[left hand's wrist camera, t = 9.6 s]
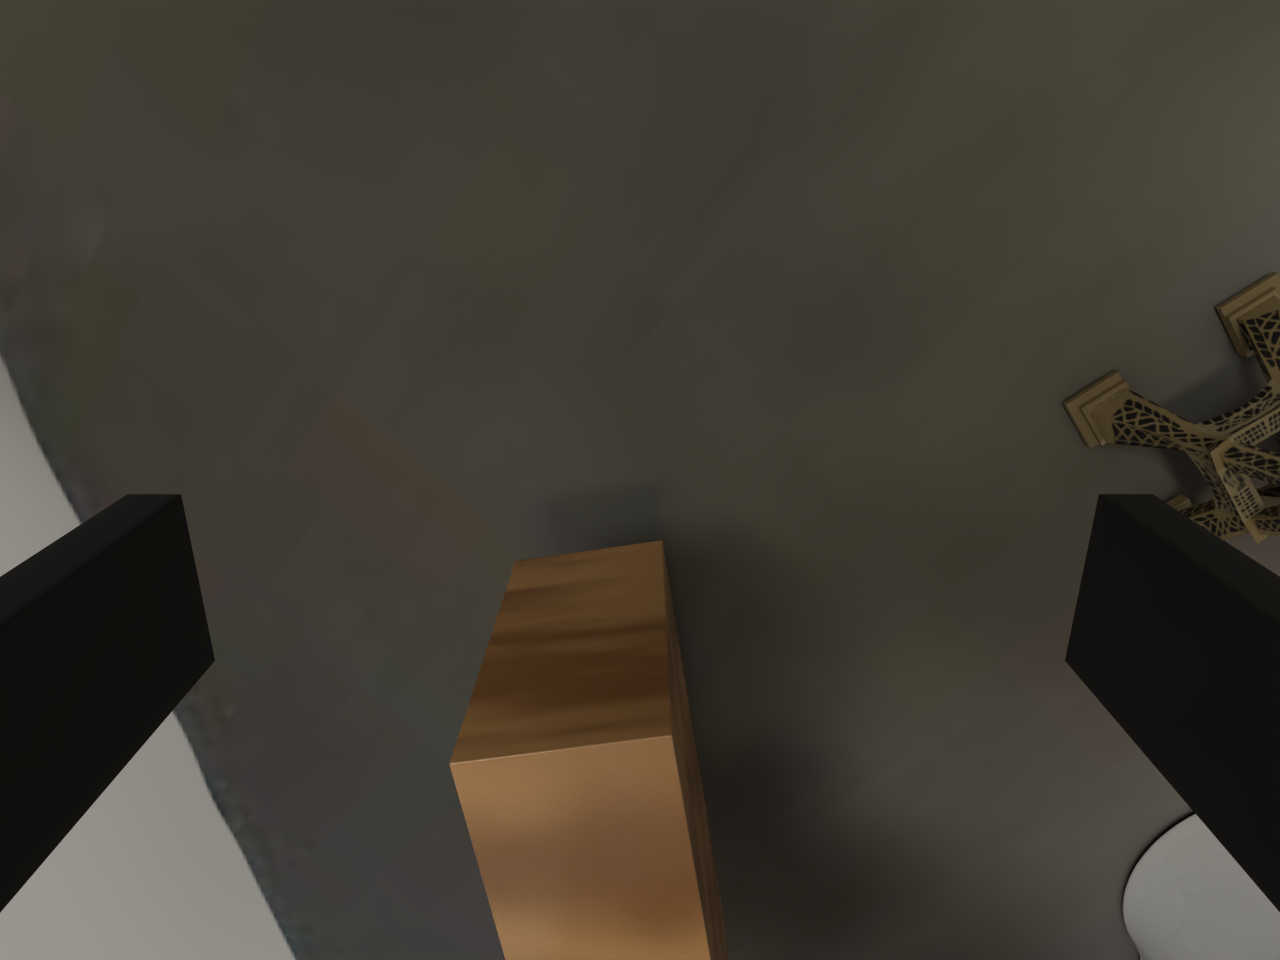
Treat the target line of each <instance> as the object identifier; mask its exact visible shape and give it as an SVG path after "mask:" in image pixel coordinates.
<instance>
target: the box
mask: <svg viewBox="0 0 1280 960" xmlns="http://www.w3.org/2000/svg"><path fill="white" fill-rule="evenodd" d="M450 768H451V771H452V775H453V778H454V782H455V785H456V789H457V792H458V796H459V799H460V803H461V806H462V810H463V813H464V817H465V820H466V824H467V827H468V831H469V834H470V838H471V841H472V845H473V848H474V851H475V855H476V858H477V862H478V865H479V869H480V872H481V876H482V879H483V883H484V886H485V890H486V893H487V897H488V900H489V904H490V907H491V911H492V914H493V918H494V921H495V925H496V928H497V932H498V935H499V939H500V942H501V946H502V949H503V953H504V956H505V960H729V959H728V950H727V941H726V931H725V922H724V916H723V910H722V903H721V897H720V891H719V885H718V879H717V873H716V866H715V860H714V854H713V848H712V842H711V836H710V830H709V823H708V817H707V811H706V805H705V799H704V793H703V787H702V780H701V774H700V768H699V762H698V756H697V750H696V744H695V737H694V731H693V725H692V719H691V713H690V707H689V701H688V694H687V688H686V682H685V676H684V670H683V664H682V658H681V651H680V645H679V639H678V633H677V627H676V621H675V615H674V608H673V602H672V596H671V590H670V584H669V578H668V572H667V565H666V559H665V553H664V547H663V541H662V540H660V541H653V542H646V543H639V544H632V545H625V546H618V547H611V548H604V549H597V550H590V551H583V552H576V553H569V554H562V555H554V556H547V557H540V558H533V559H526V560H519V561H515V564H514V567H513V570H512V573H511V576H510V579H509V582H508V585H507V589H506V592H505V595H504V598H503V601H502V604H501V607H500V610H499V613H498V616H497V619H496V622H495V625H494V628H493V631H492V635H491V638H490V641H489V644H488V647H487V650H486V653H485V656H484V659H483V662H482V665H481V668H480V671H479V674H478V678H477V681H476V684H475V687H474V690H473V693H472V696H471V699H470V702H469V705H468V708H467V711H466V714H465V717H464V721H463V724H462V727H461V730H460V733H459V736H458V739H457V742H456V745H455V748H454V751H453V754H452V757H451V760H450Z"/></svg>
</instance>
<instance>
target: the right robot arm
mask: <svg viewBox="0 0 1280 960" xmlns="http://www.w3.org/2000/svg"><path fill="white" fill-rule="evenodd" d="M1123 918H1124V922H1125V926H1126V929H1127V931H1128V933H1129V936H1130V937H1131V939H1132V941H1133V942H1134V944H1135V946H1136V947H1137V950H1138V952H1139V955H1140V960H1280V912H1279V911H1278V910H1277V909H1276V907H1275V906H1274V905H1273V904H1272V903H1271V902H1270V900H1269V899H1268V898H1267V897H1266V896H1265V895H1264V893H1263V892H1262V891H1261V890H1260V889H1259V888H1258V886H1257V885H1256V884H1255V883H1254V882H1253V880H1252V879H1251V878H1250V877H1249V876H1248V875H1247V873H1246V872H1245V871H1244V870H1243V869H1242V868H1241V866H1240V865H1239V864H1238V863H1237V862H1236V861H1235V859H1234V858H1233V857H1232V856H1231V855H1230V853H1229V852H1228V851H1227V850H1226V849H1225V848H1224V846H1223V845H1222V844H1221V843H1220V842H1219V841H1218V839H1217V838H1216V837H1215V836H1214V835H1213V834H1212V832H1211V831H1210V830H1209V829H1208V828H1207V826H1206V825H1205V824H1204V823H1203V822H1202V821H1201V819H1200V818H1199V817H1198V816H1197V815H1196V814H1194V815H1192V816H1190V817H1188V818H1187V819H1185V820H1183V821H1182V822H1180V823H1178V824H1177V825H1176V826H1174V827H1173V828H1171V829H1170V830H1169V831H1167V832H1166V833H1165V834H1164V835H1162V836H1161V837H1160V838H1159V839H1158V840H1157V841H1156V842H1155V843H1154V844H1153V845H1152V846H1151V847H1150V848H1149V849H1148V850H1147V851H1146V852H1145V854H1144V855H1143V856H1142V858H1141V859H1140V860H1139V862H1138V863H1137V865H1136V866H1135V868H1134V870H1133V872H1132V874H1131V876H1130V878H1129V880H1128V883H1127V885H1126V889H1125V893H1124V898H1123Z"/></svg>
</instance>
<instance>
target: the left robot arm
mask: <svg viewBox="0 0 1280 960" xmlns="http://www.w3.org/2000/svg"><path fill="white" fill-rule="evenodd" d="M214 661H215V659H214V654H213V649H212V644H211V639H210V634H209V629H208V624H207V619H206V614H205V610H204V605H203V600H202V595H201V590H200V585H199V580H198V575H197V570H196V566H195V561H194V556H193V551H192V546H191V541H190V536H189V531H188V526H187V521H186V517H185V512H184V507H183V502H182V497H181V494H127V495H126V496H124V497H123V498H121V499H120V500H118V501H117V502H115V503H113V504H112V505H110V506H109V507H107V508H106V509H104V510H103V511H101V512H100V513H98V514H96V515H95V516H93V517H92V518H90V519H89V520H87V521H86V522H84V523H83V524H81V525H80V526H78V527H76V528H75V529H73V530H72V531H70V532H69V533H67V534H66V535H64V536H63V537H61V538H60V539H58V540H56V541H55V542H53V543H52V544H50V545H49V546H47V547H46V548H44V549H43V550H41V551H40V552H38V553H36V554H35V555H33V556H32V557H30V558H29V559H27V560H26V561H24V562H23V563H21V564H19V565H18V566H16V567H15V568H13V569H12V570H10V571H9V572H7V573H6V574H4V575H2V576H1V577H0V912H1V911H2V910H3V909H4V907H5V906H6V905H7V904H8V903H9V902H10V900H11V899H12V898H13V897H14V896H15V895H16V893H17V892H18V891H19V890H20V889H21V888H22V886H23V885H24V884H25V883H26V882H27V880H28V879H29V878H30V877H31V876H32V875H33V873H34V872H35V871H36V870H37V869H38V868H39V866H40V865H41V864H42V863H43V862H44V861H45V859H46V858H47V857H48V856H49V855H50V853H51V852H52V851H53V850H54V849H55V848H56V846H57V845H58V844H59V843H60V842H61V841H62V839H63V838H64V837H65V836H66V835H67V834H68V832H69V831H70V830H71V829H72V828H73V826H74V825H75V824H76V823H77V822H78V821H79V819H80V818H81V817H82V816H83V815H84V814H85V812H86V811H87V810H88V809H89V808H90V807H91V805H92V804H93V803H94V802H95V801H96V799H97V798H98V797H99V796H100V795H101V794H102V792H103V791H104V790H105V789H106V788H107V787H108V785H109V784H110V783H111V782H112V781H113V780H114V778H115V777H116V776H117V775H118V774H119V773H120V771H121V770H122V769H123V768H124V767H125V765H126V764H127V763H128V762H129V761H130V760H131V758H132V757H133V756H134V755H135V754H136V753H137V751H138V750H139V749H140V748H141V747H142V746H143V744H144V743H145V742H146V741H147V740H148V738H149V737H150V736H151V735H152V734H153V733H154V731H155V730H156V729H157V728H158V727H159V726H160V724H161V723H162V722H163V721H164V720H165V719H166V717H167V716H168V715H169V714H170V713H171V712H172V710H173V709H174V708H175V707H176V706H177V704H178V703H179V702H180V701H181V700H182V699H183V697H184V696H185V695H186V694H187V693H188V692H189V690H190V689H191V688H192V687H193V686H194V685H195V683H196V682H197V681H198V680H199V679H200V677H201V676H202V675H203V674H204V673H205V672H206V670H207V669H208V668H209V667H210V666H211V665H212V663H213V662H214ZM1065 661H1066V662H1067V663H1068V665H1069V666H1070V667H1071V668H1072V669H1073V670H1074V672H1075V673H1076V674H1077V675H1078V676H1079V677H1080V679H1081V680H1082V681H1083V682H1084V683H1085V685H1086V686H1087V687H1088V688H1089V689H1090V690H1091V692H1092V693H1093V694H1094V695H1095V696H1096V697H1097V699H1098V700H1099V701H1100V702H1101V703H1102V704H1103V706H1104V707H1105V708H1106V709H1107V710H1108V712H1109V713H1110V714H1111V715H1112V716H1113V717H1114V719H1115V720H1116V721H1117V722H1118V723H1119V724H1120V726H1121V727H1122V728H1123V729H1124V730H1125V731H1126V733H1127V734H1128V735H1129V736H1130V737H1131V738H1132V740H1133V741H1134V742H1135V743H1136V744H1137V746H1138V747H1139V748H1140V749H1141V750H1142V751H1143V753H1144V754H1145V755H1146V756H1147V757H1148V758H1149V760H1150V761H1151V762H1152V763H1153V764H1154V765H1155V767H1156V768H1157V769H1158V770H1159V771H1160V773H1161V774H1162V775H1163V776H1164V777H1165V778H1166V780H1167V781H1168V782H1169V783H1170V784H1171V785H1172V787H1173V788H1174V789H1175V790H1176V791H1177V792H1178V794H1179V795H1180V796H1181V797H1182V798H1183V800H1184V801H1185V802H1186V803H1187V804H1188V805H1189V807H1190V808H1191V809H1192V810H1193V811H1194V812H1195V814H1196V815H1197V816H1198V817H1199V818H1200V819H1201V821H1202V822H1203V823H1204V824H1205V825H1206V826H1207V828H1208V829H1209V830H1210V831H1211V832H1212V834H1213V835H1214V836H1215V837H1216V838H1217V839H1218V841H1219V842H1220V843H1221V844H1222V845H1223V846H1224V848H1225V849H1226V850H1227V851H1228V852H1229V853H1230V855H1231V856H1232V857H1233V858H1234V859H1235V861H1236V862H1237V863H1238V864H1239V865H1240V866H1241V868H1242V869H1243V870H1244V871H1245V872H1246V873H1247V875H1248V876H1249V877H1250V878H1251V879H1252V880H1253V882H1254V883H1255V884H1256V885H1257V886H1258V888H1259V889H1260V890H1261V891H1262V892H1263V893H1264V895H1265V896H1266V897H1267V898H1268V899H1269V900H1270V902H1271V903H1272V904H1273V905H1274V906H1275V907H1276V909H1277V910H1278V911H1279V912H1280V577H1279V576H1278V575H1276V574H1274V573H1273V572H1271V571H1270V570H1268V569H1267V568H1265V567H1264V566H1262V565H1261V564H1259V563H1257V562H1256V561H1254V560H1253V559H1251V558H1250V557H1248V556H1247V555H1245V554H1244V553H1242V552H1241V551H1239V550H1237V549H1236V548H1234V547H1233V546H1231V545H1230V544H1228V543H1227V542H1225V541H1224V540H1222V539H1221V538H1219V537H1217V536H1216V535H1214V534H1213V533H1211V532H1210V531H1208V530H1207V529H1205V528H1204V527H1202V526H1200V525H1199V524H1197V523H1196V522H1194V521H1193V520H1191V519H1190V518H1188V517H1187V516H1185V515H1184V514H1182V513H1180V512H1179V511H1177V510H1176V509H1174V508H1173V507H1171V506H1170V505H1168V504H1167V503H1165V502H1163V501H1162V500H1160V499H1159V498H1157V497H1156V496H1154V495H1153V494H1099V497H1098V502H1097V507H1096V512H1095V517H1094V521H1093V526H1092V531H1091V536H1090V541H1089V546H1088V551H1087V556H1086V561H1085V566H1084V570H1083V575H1082V580H1081V585H1080V590H1079V595H1078V600H1077V605H1076V610H1075V614H1074V619H1073V624H1072V629H1071V634H1070V639H1069V644H1068V649H1067V654H1066V659H1065Z"/></svg>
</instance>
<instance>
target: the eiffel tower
mask: <svg viewBox="0 0 1280 960" xmlns="http://www.w3.org/2000/svg"><path fill="white" fill-rule="evenodd" d="M1216 309H1217V311H1218V313H1219V315H1220V317H1221V319H1222V321H1223V323H1224V325H1225V328H1226V330H1227V332H1228V334H1229V336H1230V338H1231V340H1232V342H1233V344H1234V346H1235V348H1236V350H1237V353H1238V355H1240V356H1244V357H1247V358H1249V357H1250V356H1252V355H1254V354H1255V356H1256V358H1257V360H1258V362H1259V365H1260V367H1261V369H1262V371H1263V373H1264V376H1265V378H1266V380H1267V382H1268V384H1267V385H1266V386H1265V387H1264V388H1263V389H1262V390H1261V391H1260V392H1259V393H1258V394H1257V395H1256V396H1255V397H1254V398H1253V399H1252V400H1250V401H1249V402H1248V403H1246V404H1245V405H1244V406H1242V407H1240V408H1238V409H1235V410H1233V411H1231V412H1228V413H1225V414H1223V415H1220V416H1218V417H1215V418H1213V419H1210V420H1207V421H1204V422H1201V423H1198V424H1195V425H1194V424H1193V423H1191V422H1189V421H1187V420H1185V419H1183V418H1181V417H1179V416H1178V415H1176V414H1174V413H1172V412H1170V411H1168V410H1166V409H1164V408H1163V407H1161V406H1159V405H1157V404H1155V403H1153V402H1151V401H1149V400H1148V399H1146V398H1144V397H1142V396H1140V395H1138V394H1136V393H1134V392H1133V391H1131V389H1130V387H1129V385H1128V383H1127V381H1125V380H1123V379H1122V377H1121V375H1120V374H1119V372H1118V371H1113V372H1112V373H1110V374H1108V375H1107V376H1105V377H1103V378H1102V379H1100V380H1099V381H1097V382H1095V383H1094V384H1092V385H1091V386H1089V387H1087V388H1086V389H1084V390H1083V391H1081V392H1079V393H1078V394H1076V395H1074V396H1073V397H1071V398H1070V399H1068V400H1066V401H1065V402H1063V405H1064V406H1065V408H1066V410H1067V412H1068V414H1069V415H1070V417H1071V419H1072V421H1073V422H1074V424H1075V426H1076V428H1077V429H1078V431H1079V433H1080V435H1081V437H1082V438H1083V440H1084V442H1085V444H1086V445H1087V447H1089V448H1090V449H1091V448H1093V447H1094V446H1096V445H1098V444H1100V445H1102V446H1103V445H1104V444H1106V443H1113V444H1124V445H1134V446H1145V447H1155V448H1166V449H1176V450H1184V451H1185V452H1186V453H1187V455H1188V456H1189V457H1190V458H1191V459H1192V461H1193V462H1194V463H1195V465H1196V466H1197V467H1198V469H1199V470H1200V472H1201V473H1202V474H1203V476H1204V477H1205V479H1206V481H1207V482H1208V484H1209V486H1210V488H1211V490H1212V492H1213V495H1214V500H1210V501H1207V502H1203V503H1200V504H1196V505H1192V503H1191V501H1190V500H1189V498H1187V497H1185V496H1184V495H1182V494H1180V495H1178V496H1177V497H1175V498H1173V499H1172V500H1170V501H1168V502H1166V503H1167V504H1168V505H1170V506H1171V507H1173V508H1174V509H1176V510H1177V511H1179V512H1180V513H1182V514H1184V515H1185V516H1187V517H1188V518H1190V519H1191V520H1193V521H1194V522H1196V523H1197V524H1199V525H1200V526H1202V527H1204V528H1205V529H1207V530H1208V531H1210V532H1211V533H1213V534H1214V535H1216V536H1217V537H1219V538H1221V539H1222V540H1225V539H1228V538H1231V537H1235V536H1238V535H1241V534H1244V533H1247V532H1250V534H1251V535H1252V537H1253V538H1254V540H1255V542H1256V543H1257V544H1259V543H1260V542H1262V541H1263V540H1264V539H1266V538H1267V537H1269V536H1270V535H1280V454H1278V453H1275V452H1272V451H1268V450H1265V449H1262V448H1258V447H1255V445H1256V444H1258V443H1260V442H1262V441H1263V440H1265V439H1267V438H1268V437H1270V436H1272V435H1273V434H1275V433H1277V432H1279V431H1280V277H1279V275H1278V273H1274V272H1273V273H1271V274H1269V275H1268V276H1266V277H1265V278H1263V279H1261V280H1260V281H1258V282H1256V283H1255V284H1253V285H1252V286H1250V287H1248V288H1247V289H1245V290H1244V291H1242V292H1240V293H1239V294H1237V295H1236V296H1234V297H1232V298H1231V299H1229V300H1227V301H1226V302H1224V303H1223V304H1221V305H1219V306H1218V307H1216ZM1279 440H1280V437H1279ZM1250 476H1251V477H1254V478H1257V479H1260V480H1263V481H1266V482H1269V483H1270V484H1268V485H1266V486H1264V487H1262V488H1259V489H1256V487H1255V486H1254V484H1253V482H1252V480H1251V478H1250Z"/></svg>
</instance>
